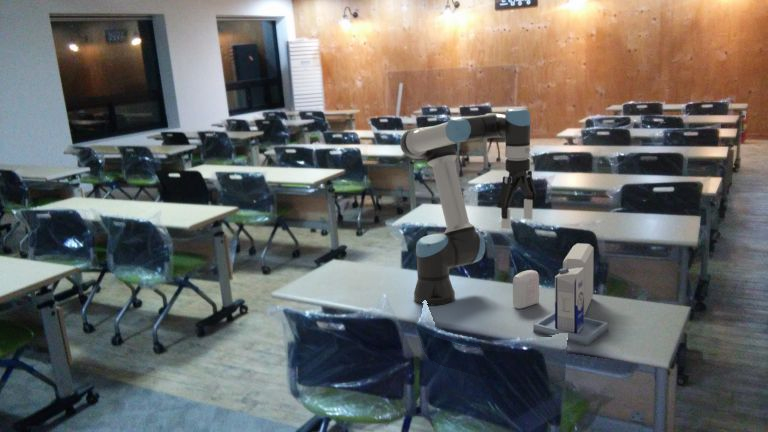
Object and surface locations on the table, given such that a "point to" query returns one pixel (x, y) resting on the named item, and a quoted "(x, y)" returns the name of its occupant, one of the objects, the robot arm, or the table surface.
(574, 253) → the bevelled white case
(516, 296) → the photo printer
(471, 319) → the table surface
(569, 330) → the milk carton
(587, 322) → the tray
